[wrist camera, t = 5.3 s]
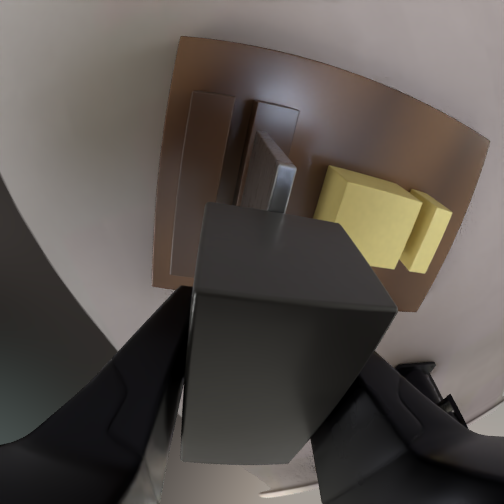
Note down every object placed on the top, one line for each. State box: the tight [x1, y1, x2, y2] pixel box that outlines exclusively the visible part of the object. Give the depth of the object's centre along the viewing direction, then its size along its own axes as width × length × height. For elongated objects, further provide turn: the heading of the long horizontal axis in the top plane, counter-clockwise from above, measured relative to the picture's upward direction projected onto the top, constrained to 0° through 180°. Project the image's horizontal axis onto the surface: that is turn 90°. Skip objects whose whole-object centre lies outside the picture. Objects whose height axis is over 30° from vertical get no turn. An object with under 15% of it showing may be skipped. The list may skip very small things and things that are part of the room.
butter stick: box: [313, 165, 422, 269], centre depth 17 cm, size 5×4×3 cm
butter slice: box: [399, 189, 452, 273], centre depth 18 cm, size 2×4×3 cm, turn 169°
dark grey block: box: [180, 131, 398, 465], centre depth 9 cm, size 3×8×8 cm, turn 169°
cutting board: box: [152, 36, 490, 312], centre depth 18 cm, size 22×16×4 cm
